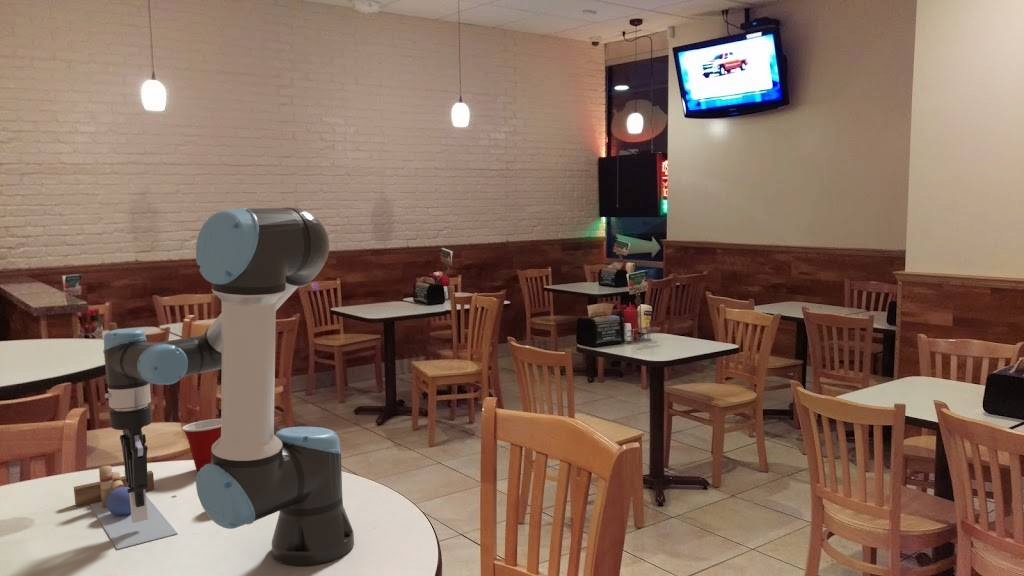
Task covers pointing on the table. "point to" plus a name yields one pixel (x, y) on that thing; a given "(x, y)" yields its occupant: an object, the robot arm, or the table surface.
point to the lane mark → (133, 526)
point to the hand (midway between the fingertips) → (139, 520)
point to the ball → (119, 501)
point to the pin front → (117, 480)
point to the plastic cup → (202, 440)
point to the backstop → (93, 491)
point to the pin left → (105, 483)
